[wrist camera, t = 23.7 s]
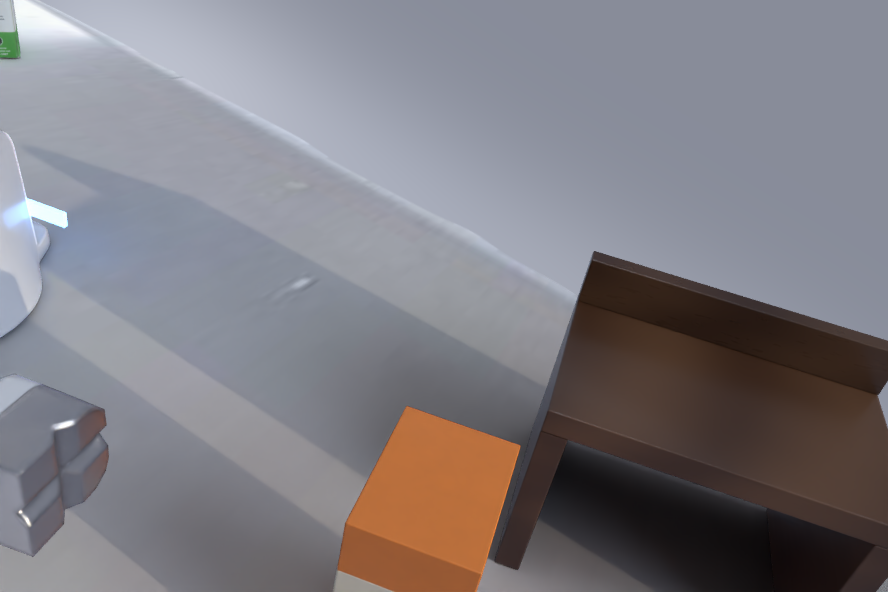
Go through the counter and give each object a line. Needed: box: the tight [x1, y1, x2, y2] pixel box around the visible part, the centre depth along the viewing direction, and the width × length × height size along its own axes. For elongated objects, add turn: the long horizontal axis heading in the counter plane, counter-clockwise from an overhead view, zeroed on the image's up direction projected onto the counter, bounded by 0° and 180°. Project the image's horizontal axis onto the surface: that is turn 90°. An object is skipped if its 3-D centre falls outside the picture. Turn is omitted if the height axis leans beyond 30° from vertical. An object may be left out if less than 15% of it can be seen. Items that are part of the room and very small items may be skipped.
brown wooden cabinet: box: [495, 251, 888, 592], centre depth 37 cm, size 15×10×12 cm, turn 74°
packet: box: [333, 406, 520, 592], centre depth 29 cm, size 4×6×11 cm
